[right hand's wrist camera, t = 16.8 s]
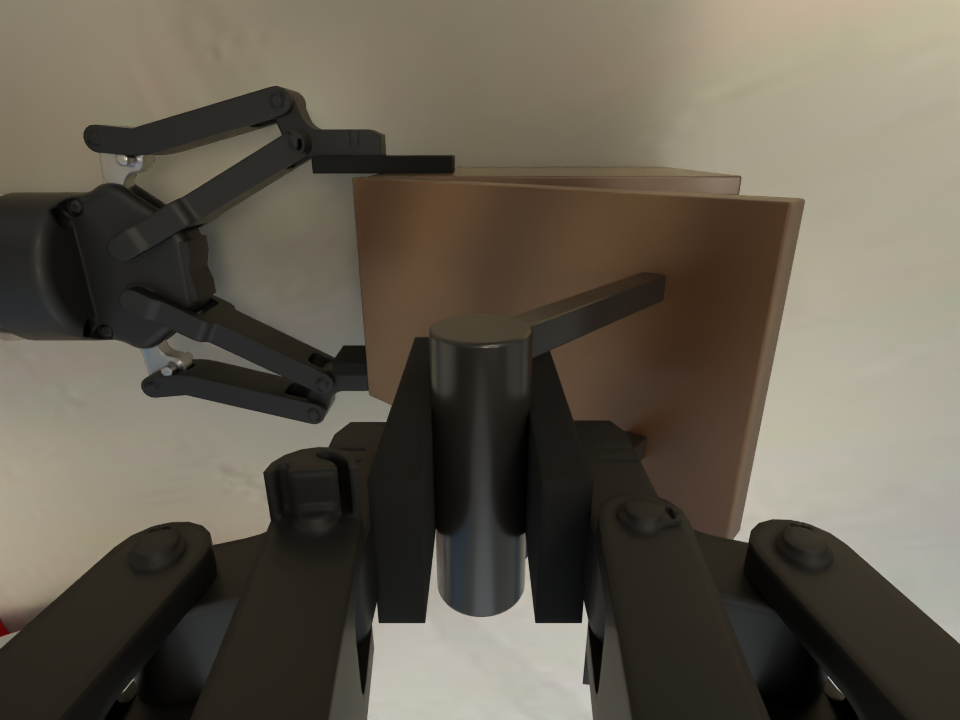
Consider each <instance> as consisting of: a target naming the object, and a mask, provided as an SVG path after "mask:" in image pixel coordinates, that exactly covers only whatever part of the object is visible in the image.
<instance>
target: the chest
mask: <svg viewBox="0 0 960 720" xmlns="http://www.w3.org/2000/svg"><path fill="white" fill-rule="evenodd" d="M369 177H395V178H414V179H434V180H453V181H473V182H492V183H512V184H531V185H550V186H570V187H589V188H609V189H628V190H647V191H667V192H686V193H706V194H725V195H739V190H740V184H741V176H737V175H729V174H720V173H711V172H702V171H694V170H685V169H676V168H667V167H455V171H454V172H453V173H380V174H376V175H372V176H369Z"/></svg>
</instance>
